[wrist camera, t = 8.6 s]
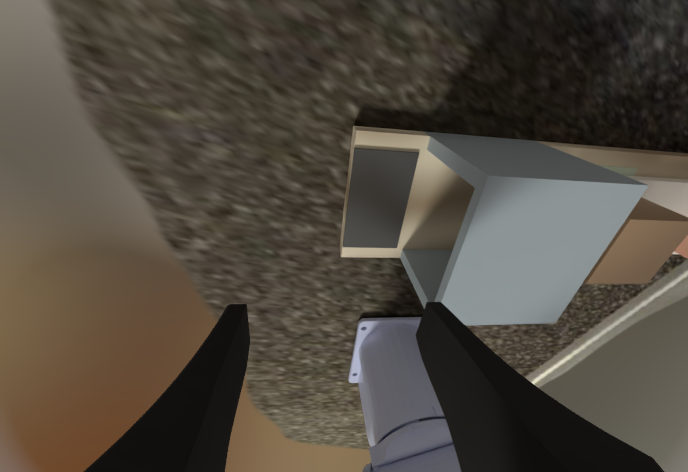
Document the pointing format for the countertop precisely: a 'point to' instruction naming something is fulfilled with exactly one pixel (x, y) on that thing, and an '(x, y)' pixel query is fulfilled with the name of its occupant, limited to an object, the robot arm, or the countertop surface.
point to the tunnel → (520, 230)
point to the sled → (646, 235)
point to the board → (440, 189)
